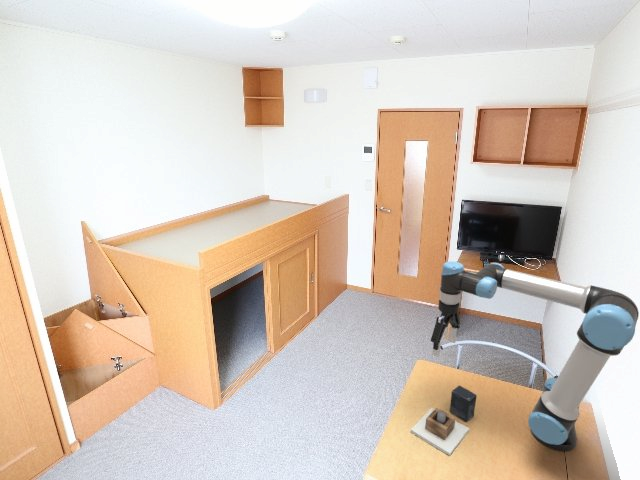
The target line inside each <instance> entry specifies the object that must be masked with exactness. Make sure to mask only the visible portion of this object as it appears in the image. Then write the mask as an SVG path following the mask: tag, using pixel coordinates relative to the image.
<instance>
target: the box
mask: <svg viewBox="0 0 640 480" xmlns="http://www.w3.org/2000/svg"><path fill="white" fill-rule="evenodd" d="M477 396H478V395H477V394H476V393H474V392H472V391H470V390H468V389H467V388H465V387H464V386H462V385H457V386H456V387H455V388H454V389H452V390H451V395H450V405H449V413H451V414H453V415H454V416H455V417H457V418H459V419H460V420H462V421H464V422H465V423H468V422H469V421H470V420H471V419H472V418H474V416H475V410H476V402H477Z"/></svg>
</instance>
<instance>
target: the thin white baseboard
mask: <svg viewBox="0 0 640 480" xmlns="http://www.w3.org/2000/svg"><path fill="white" fill-rule="evenodd" d="M434 410H435V408H432V407H431V408H429V410H428V411H427V412H426V413H425V414H424V415H423V416H422V417H421V418H420V419H419V420H418V421H417V422H416V424H415V425H413V426H412V428H411V429H410V433H411V434H413V435H414V436H416V437H417V438H419V439H421V440H423V441H424V442H425V443H428V444H429V445H430V446H433V447H435V448H436V449H438V450H439V451H441V452H442V453H444V454H446V455H447V456H449V457H450V456H451V455H452V454H453V452H454V451H456V449H457V447H458V445H460V444H461V442H462V441H463V440H464V438H465V437H466V435H467V434H468V432H469V431H470V428H469V427H467V426H465V425H464V424H462V423H460V422H458V421H456V420H455V426H454V429H453V431H452V432H451V433H450V434H449V436H448V437H447V438H446V439H445V440H443V439H441V438H439V437H438V436H436V435H434V434H433V433H431V432H429V431H428V430H426V429H425V425H426V418H427V417H428V416H429V415H430V414H431V413H432V412H433V411H434ZM442 411H443V410H442ZM442 411H440V412H438V414H437V422H439V423H441V424H442V425H445V418H446V414H445V413H446V412H445V411H444V412H445V413H444V412H442Z"/></svg>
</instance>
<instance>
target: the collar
mask: <svg viewBox="0 0 640 480" xmlns="http://www.w3.org/2000/svg"><path fill="white" fill-rule="evenodd" d="M440 411H442V412H444V413H445V414H446V418H445V425H442V424H441V423H439V422H437V414H438V412H440ZM455 421H456V416H453V415H451V414H449V413H447V412H445V411H443V410H441V409H439V408H438V407H435V408H434V411H433V412H432V413H431V414H430V415H429V416H428V417H427V418H426V425H425V429H426V430H428V431H429V432H431V433H433V434H434V435H436V436H438V437H439V438H441V439H443V440H445V439H446V438H447V437H448V436H449V434H450V433H451V432H452V431H453V429H454V426H455Z"/></svg>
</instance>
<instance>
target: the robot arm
mask: <svg viewBox="0 0 640 480" xmlns="http://www.w3.org/2000/svg"><path fill="white" fill-rule="evenodd" d="M440 278H441V279H440V288H439V290H438V291H439V300H438V306H437V308H438V310H439V312H441V314H440V316H437V317H436V322H435V325H434V328H433V331H432V334H431V338H430V342H432V354H431V355H433V356H434V357H436V358H440V354H441V347H442V346H441V345H442V342H441V340H442V338H443V335H444V332H445V330H446V328H448V326H449V324H450V326H449V329H448V331H449V332H448V340H447V341H448V342H451V343H453V344H455V343H456V339H457V329H460V327H461V326H460V324H461V320H460V313H459V309H460V301H461V292H464V293H467V294H470V295H473V296H476V297H479V298H484V299H492V298H493V297H494V296H495V294H496V293H497V289H498V288H500V289H505V290H508V291H512V292H516V293H519V294H523V295H527V296H531V297H534V298H538V299H542V300H546V301H550V302H552V303H557V304H560V305H563V306H568V307H571V308H576V309H579V310H580V311H581V313H583V314H585V316H584V318H583V320H582V322H581V324H580V326H579V328H578V329H577V331H576V335H577V338H578V342H577V343H576V345H575V346H574V348H573V350H572V352H571V353H570V355H569V357H568V359H567V360H566V363H564V366H563V368H561V371H560V373H559V375H558V376H557V377H549V378H547V379H546V380H545V381H544V383H543V390H542V393H541V394H540V396H539V399H538V400H537V402H536V404H535V406H534V408H533V409H532V411H531V412H530V413H529V415H528V420H527V423H528V424H527V425H528V427H529V429H530V432H531V434H532V435H533V437H534V439H536V440H537V442H539V443H540V444H542V445H543V446H546V447H548V448H549V449H552V450H555V451H560V452H569V451H572V450H573V449H575V448H576V446H577V442H578V435H577V430H576V422H577V421H578V419H579V417H580V415H581V414H580V405H581V403H582V401H583V400H584V398H585V396H586V395H588V392H589V391H590V389H591V387H592V386H593V384H594V383H595V381H596V379H597V378H598V376H599V375H600V373H601V371H602V370H603V368H604V367H605V365H606V364H607V362H608V360H609V359H610V357H611V356H612V357H613V356H619V355H620V353H621V352H622V350H623V349H624V348H625V347H626V346H627V345H628V344H630V342H631V341H632V340H633V338H634V336H635V333H636V325H637V323H638V322H637V321H638V320H639V316H640V315H639V313H640V312H639V309H638V306H637V305H636V303H635V302H634V301H633V300H632V298H630V297H629V296H627V295H625V294H623V293H621V292H618V291H616V290H613V289H607V288H604V287H601V286H595V285H591V284H590V285H588V286H582V285H577V284H573V283H569V282H565V281H561V280H560V281H559V280H556V279H552V278H547V277H543V276H538V275H535V274H530V273H525V272H521V271H517V270H513V269H508V268H505V267H504V266H503V265H502V264H500V263H499V262H492V263H488V264H486V265H485V266H484V267H483V268H482V269H480V270H479V271H477V272H476V273H474V272H470V271H466V270H465V267H464V265H463V264H462V263H460V262H458V261H446V262H444V263H443V264H442V271H441V277H440Z"/></svg>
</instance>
